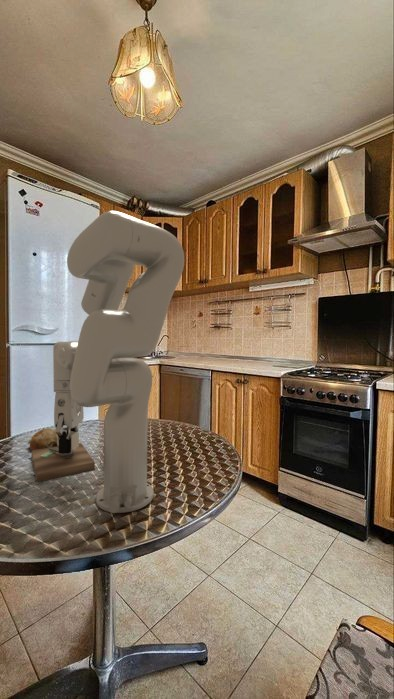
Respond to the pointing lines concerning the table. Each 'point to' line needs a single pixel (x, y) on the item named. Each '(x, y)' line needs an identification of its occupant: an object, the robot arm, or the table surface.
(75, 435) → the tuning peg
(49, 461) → the brown wooden flat board
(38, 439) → the bread roll
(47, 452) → the dial marks
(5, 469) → the table surface
